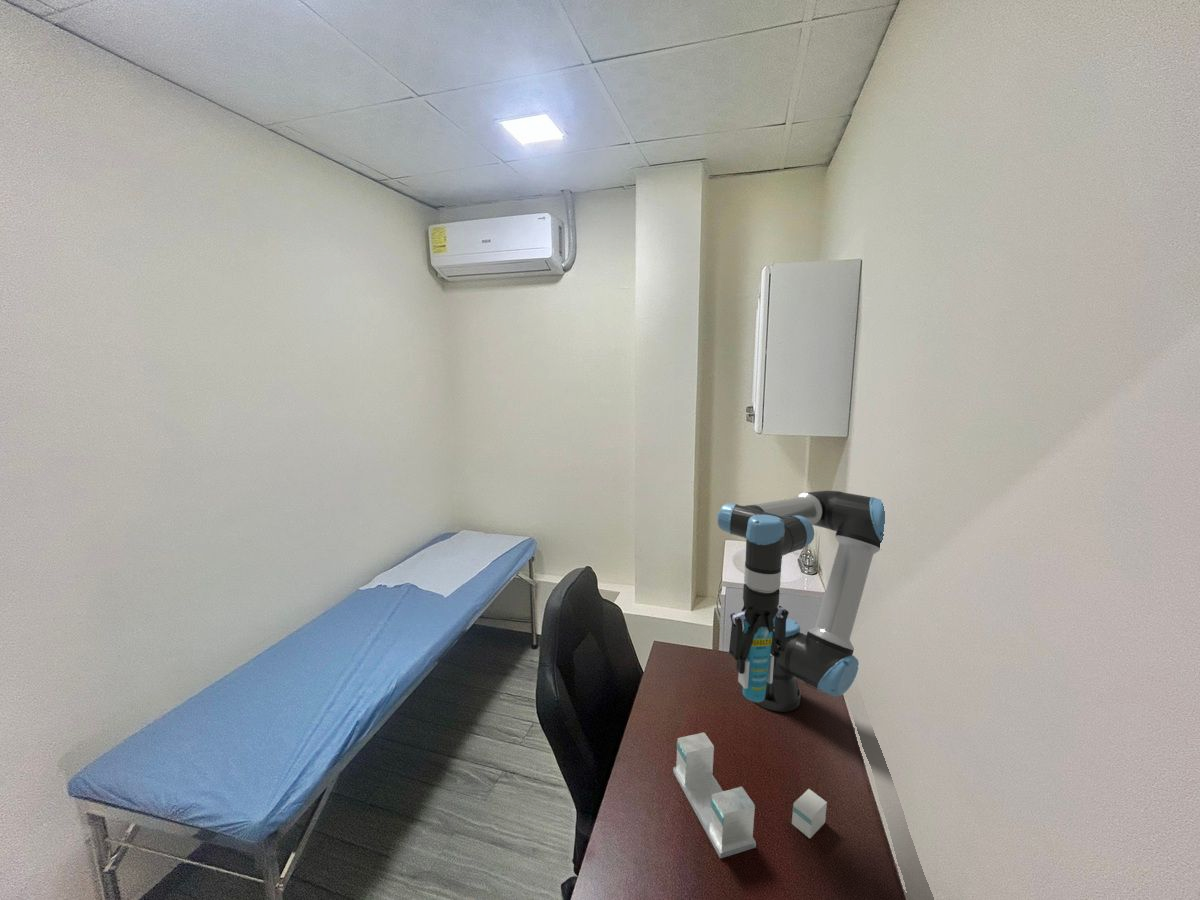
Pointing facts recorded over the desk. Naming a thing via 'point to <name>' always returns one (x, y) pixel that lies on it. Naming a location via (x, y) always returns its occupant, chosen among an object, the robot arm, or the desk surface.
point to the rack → (714, 798)
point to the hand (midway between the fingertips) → (755, 682)
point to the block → (809, 813)
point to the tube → (758, 663)
